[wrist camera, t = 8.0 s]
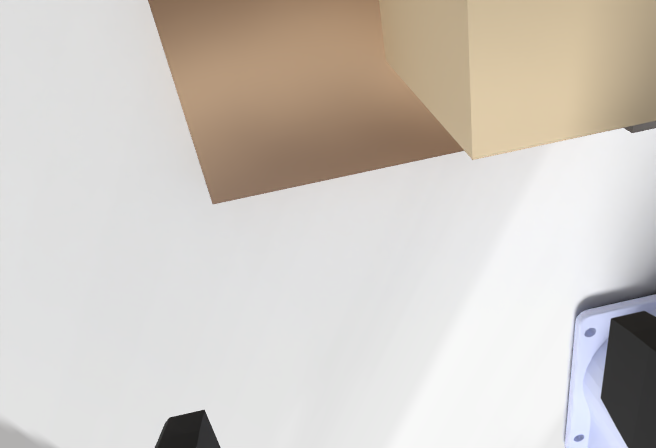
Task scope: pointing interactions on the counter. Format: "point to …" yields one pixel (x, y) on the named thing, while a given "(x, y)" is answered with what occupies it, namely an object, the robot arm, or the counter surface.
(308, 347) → the counter surface
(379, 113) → the tan tray
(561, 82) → the box
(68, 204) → the counter surface
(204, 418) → the robot arm
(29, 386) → the counter surface
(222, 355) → the counter surface
